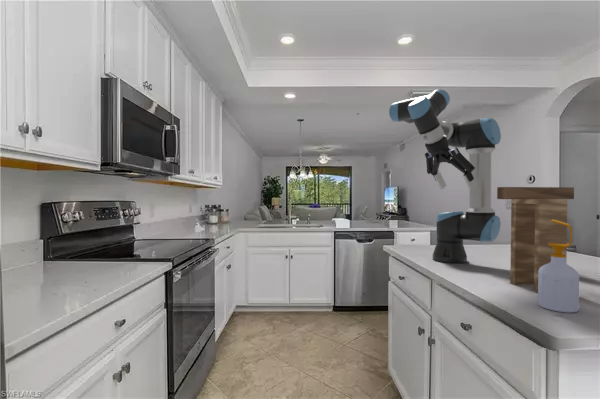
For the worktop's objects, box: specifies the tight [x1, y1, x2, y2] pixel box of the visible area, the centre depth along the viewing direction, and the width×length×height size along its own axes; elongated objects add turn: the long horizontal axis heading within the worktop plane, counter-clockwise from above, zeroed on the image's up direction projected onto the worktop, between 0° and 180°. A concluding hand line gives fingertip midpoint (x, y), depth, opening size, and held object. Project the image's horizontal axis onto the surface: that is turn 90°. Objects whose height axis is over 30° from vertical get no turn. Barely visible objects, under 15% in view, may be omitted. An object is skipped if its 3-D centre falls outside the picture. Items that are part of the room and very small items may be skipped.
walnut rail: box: [496, 186, 575, 200], centre depth 115 cm, size 4×26×4 cm, turn 100°
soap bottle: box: [537, 219, 580, 314], centre depth 95 cm, size 9×9×25 cm
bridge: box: [509, 199, 568, 293], centre depth 116 cm, size 12×10×30 cm
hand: (457, 187), depth 129 cm, fingers open, 13 cm apart
